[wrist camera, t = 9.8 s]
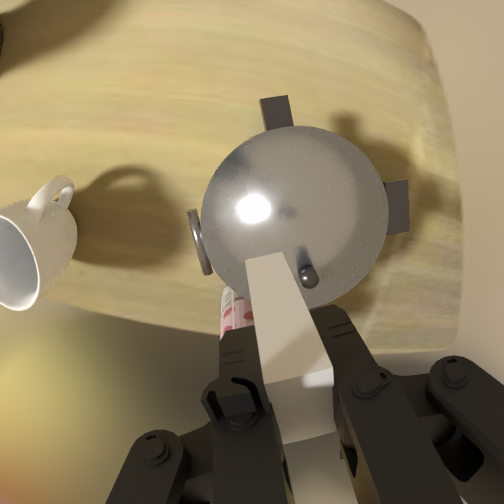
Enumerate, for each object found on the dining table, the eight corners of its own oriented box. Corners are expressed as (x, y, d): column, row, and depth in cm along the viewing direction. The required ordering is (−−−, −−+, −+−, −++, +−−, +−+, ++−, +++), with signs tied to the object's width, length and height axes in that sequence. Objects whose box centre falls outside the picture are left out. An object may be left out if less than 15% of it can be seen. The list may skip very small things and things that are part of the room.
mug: (59, 147, 32) (-5, 158, 19) (119, 195, 35) (70, 225, 22) (20, 235, 35) (-35, 270, 23) (72, 279, 38) (27, 329, 26)
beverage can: (240, 322, 42) (246, 402, 28) (212, 295, 40) (206, 373, 26) (272, 298, 41) (292, 375, 27) (245, 270, 39) (253, 342, 25)
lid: (172, 150, 24) (165, 151, 21) (394, 115, 23) (409, 114, 21) (217, 319, 30) (216, 335, 28) (403, 279, 30) (415, 292, 27)
